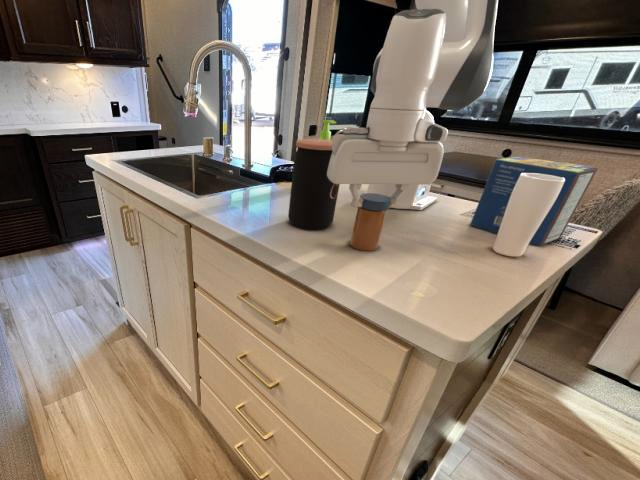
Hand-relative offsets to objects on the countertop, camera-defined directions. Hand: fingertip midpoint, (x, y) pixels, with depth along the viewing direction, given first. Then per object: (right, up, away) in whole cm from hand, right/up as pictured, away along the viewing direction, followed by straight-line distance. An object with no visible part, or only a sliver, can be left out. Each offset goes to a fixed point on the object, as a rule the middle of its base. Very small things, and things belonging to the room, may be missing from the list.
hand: (373, 207), depth 66 cm
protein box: (+39, -2, +14) cm, 42 cm away
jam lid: (0, +1, -1) cm, 2 cm away
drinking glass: (+29, -9, +3) cm, 30 cm away
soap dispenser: (+1, +22, +52) cm, 56 cm away
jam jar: (0, -7, +4) cm, 8 cm away
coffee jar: (-9, 0, +16) cm, 18 cm away
